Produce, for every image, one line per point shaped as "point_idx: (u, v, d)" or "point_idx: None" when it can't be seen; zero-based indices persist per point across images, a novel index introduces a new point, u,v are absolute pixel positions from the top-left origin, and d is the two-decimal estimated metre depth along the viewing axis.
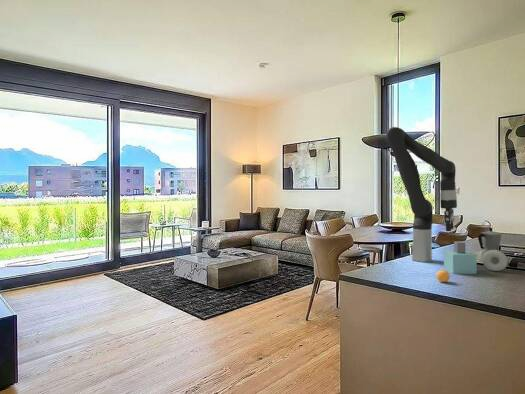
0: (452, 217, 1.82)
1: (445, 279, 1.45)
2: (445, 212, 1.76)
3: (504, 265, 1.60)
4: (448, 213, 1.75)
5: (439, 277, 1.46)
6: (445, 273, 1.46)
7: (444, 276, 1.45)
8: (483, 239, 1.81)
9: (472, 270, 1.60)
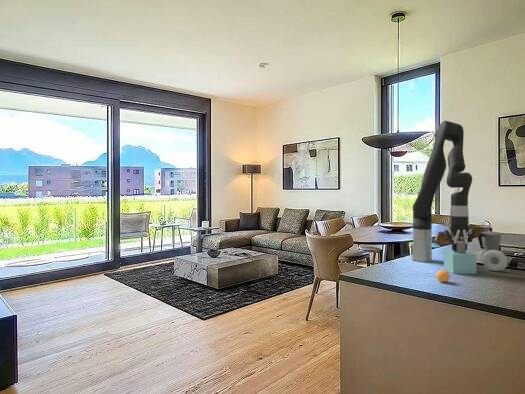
0: None
1: (445, 279, 1.45)
2: None
3: (504, 265, 1.60)
4: None
5: (439, 277, 1.46)
6: (445, 273, 1.46)
7: (444, 276, 1.45)
8: (483, 239, 1.81)
9: (472, 270, 1.60)
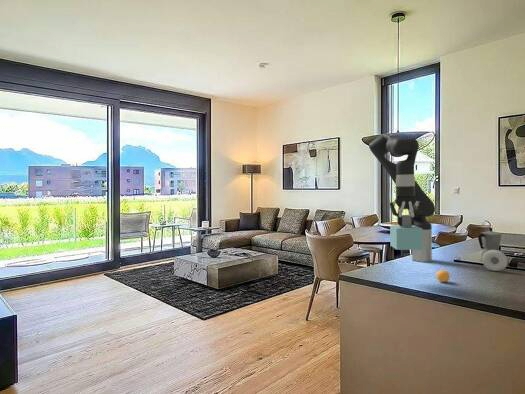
0: None
1: (445, 279, 1.45)
2: None
3: (504, 265, 1.60)
4: None
5: (439, 277, 1.46)
6: (445, 273, 1.46)
7: (444, 276, 1.45)
8: (483, 239, 1.81)
9: (417, 246, 1.43)
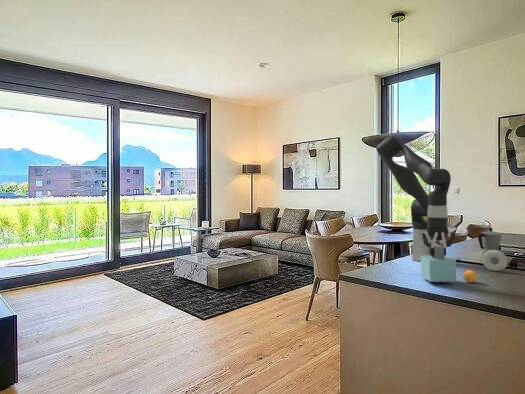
0: (433, 239, 1.49)
1: (474, 276, 1.44)
2: None
3: (504, 265, 1.60)
4: None
5: (474, 281, 1.45)
6: (468, 278, 1.45)
7: (472, 279, 1.44)
8: (483, 239, 1.81)
9: (451, 278, 1.42)
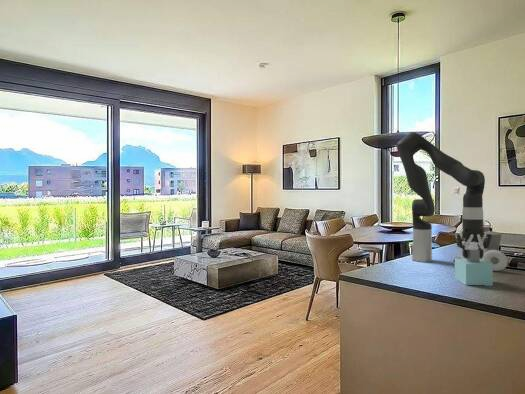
0: (467, 241, 1.47)
1: None
2: None
3: (504, 265, 1.60)
4: None
5: None
6: None
7: None
8: (483, 239, 1.81)
9: (488, 281, 1.41)
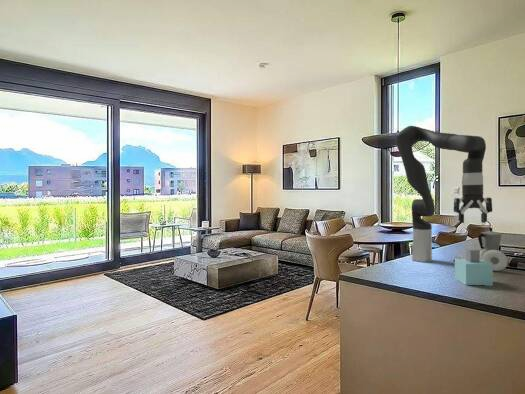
0: (465, 207, 1.47)
1: None
2: None
3: (504, 265, 1.60)
4: None
5: None
6: None
7: None
8: (483, 239, 1.81)
9: (488, 281, 1.41)
